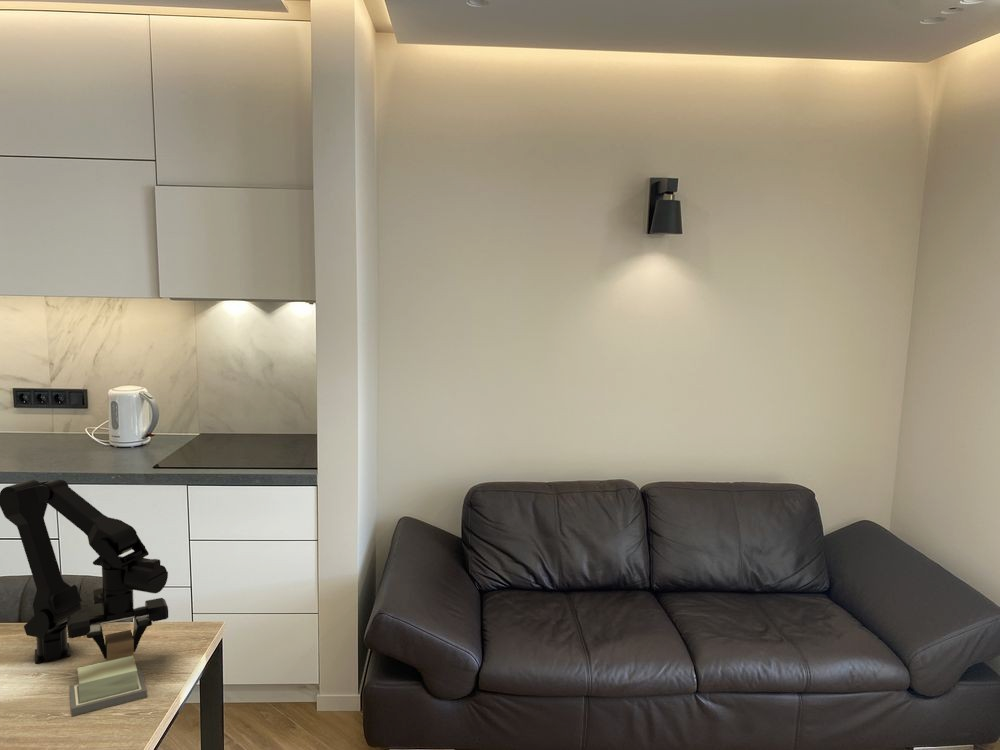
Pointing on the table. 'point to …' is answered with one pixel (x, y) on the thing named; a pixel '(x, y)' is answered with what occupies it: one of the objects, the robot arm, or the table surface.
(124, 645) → the walnut cube
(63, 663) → the table surface
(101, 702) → the plinth
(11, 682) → the table surface
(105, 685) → the sage block
